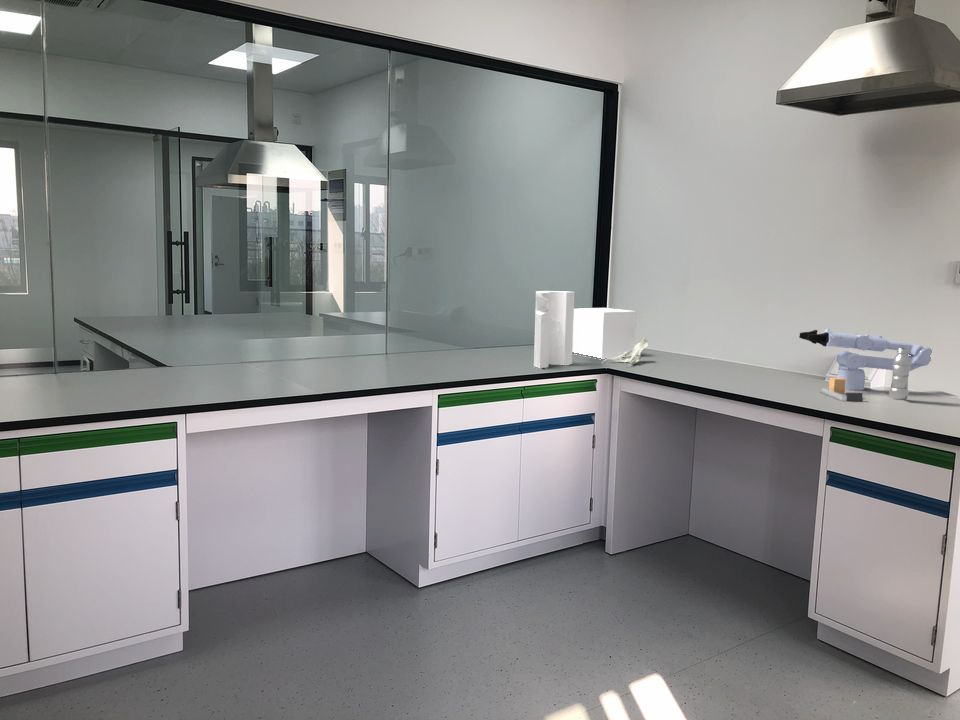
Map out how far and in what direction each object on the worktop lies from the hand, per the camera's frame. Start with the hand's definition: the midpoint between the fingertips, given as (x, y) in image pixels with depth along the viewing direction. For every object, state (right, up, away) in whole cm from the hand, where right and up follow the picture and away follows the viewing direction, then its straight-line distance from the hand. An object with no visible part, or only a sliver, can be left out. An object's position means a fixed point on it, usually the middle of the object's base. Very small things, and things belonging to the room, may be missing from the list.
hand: (803, 336), depth 307 cm
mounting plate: (+8, -24, -16) cm, 30 cm away
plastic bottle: (+29, -25, -17) cm, 41 cm away
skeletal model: (-56, -12, +68) cm, 89 cm away
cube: (-65, -8, +96) cm, 116 cm away
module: (+9, -23, -9) cm, 26 cm away
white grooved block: (-97, -12, +55) cm, 113 cm away
